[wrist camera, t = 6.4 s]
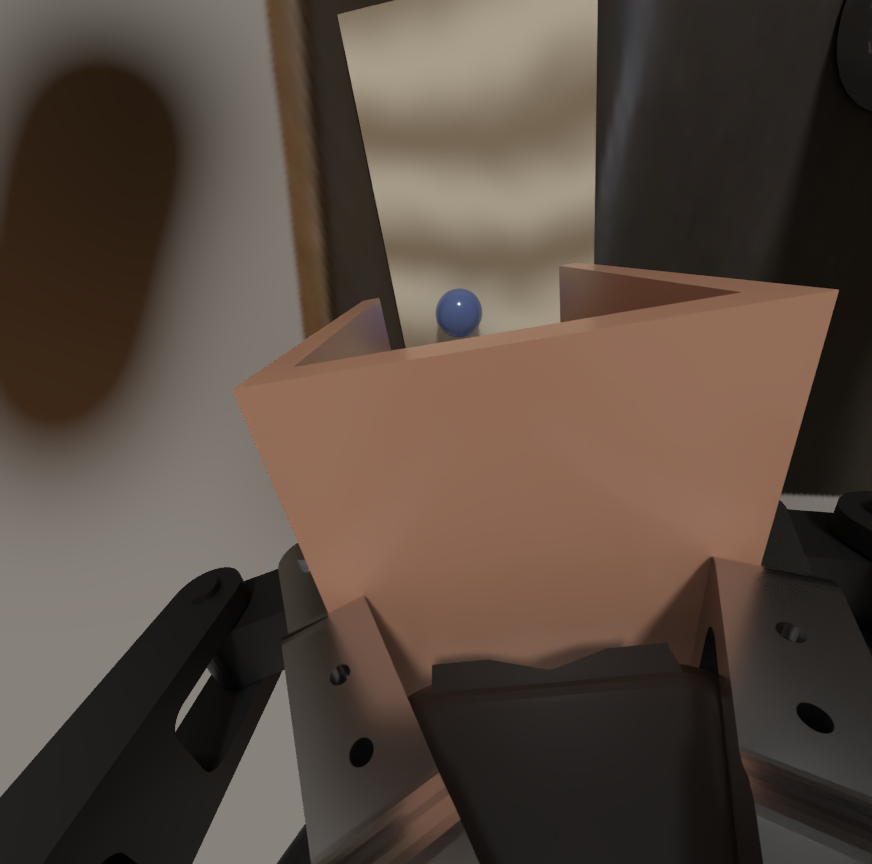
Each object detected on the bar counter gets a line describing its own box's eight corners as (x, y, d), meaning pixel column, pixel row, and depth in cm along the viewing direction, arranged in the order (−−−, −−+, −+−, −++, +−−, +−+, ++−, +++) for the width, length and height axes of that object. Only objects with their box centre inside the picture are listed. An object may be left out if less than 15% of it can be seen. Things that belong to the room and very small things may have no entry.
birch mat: (341, 25, 20) (337, 14, 19) (590, -36, 19) (598, -50, 18) (423, 427, 30) (423, 432, 29) (587, 402, 29) (591, 407, 28)
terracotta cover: (363, 300, 11) (232, 389, 4) (576, 262, 11) (839, 289, 4) (422, 547, 16) (407, 797, 9) (577, 528, 15) (699, 779, 8)
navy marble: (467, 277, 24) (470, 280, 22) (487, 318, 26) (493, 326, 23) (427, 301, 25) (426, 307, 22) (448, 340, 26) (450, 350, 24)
